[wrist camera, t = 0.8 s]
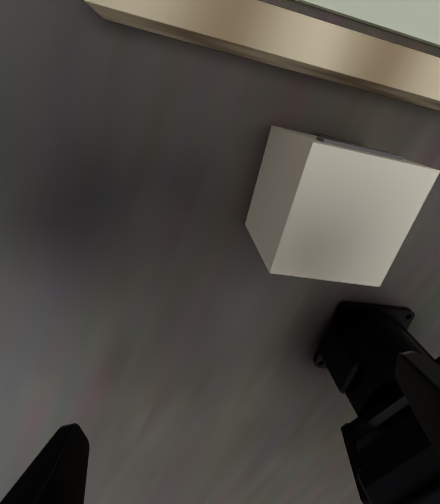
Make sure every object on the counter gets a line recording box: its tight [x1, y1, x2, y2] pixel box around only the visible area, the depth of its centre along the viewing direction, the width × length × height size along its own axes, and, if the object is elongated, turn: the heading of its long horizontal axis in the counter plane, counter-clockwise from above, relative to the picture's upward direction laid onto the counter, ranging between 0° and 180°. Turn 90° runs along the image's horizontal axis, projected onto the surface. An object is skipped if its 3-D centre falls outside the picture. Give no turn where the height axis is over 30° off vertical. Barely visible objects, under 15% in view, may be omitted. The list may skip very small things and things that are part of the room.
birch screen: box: [84, 0, 440, 111], centre depth 15 cm, size 24×2×4 cm, turn 78°
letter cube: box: [245, 126, 440, 287], centre depth 17 cm, size 6×6×6 cm
